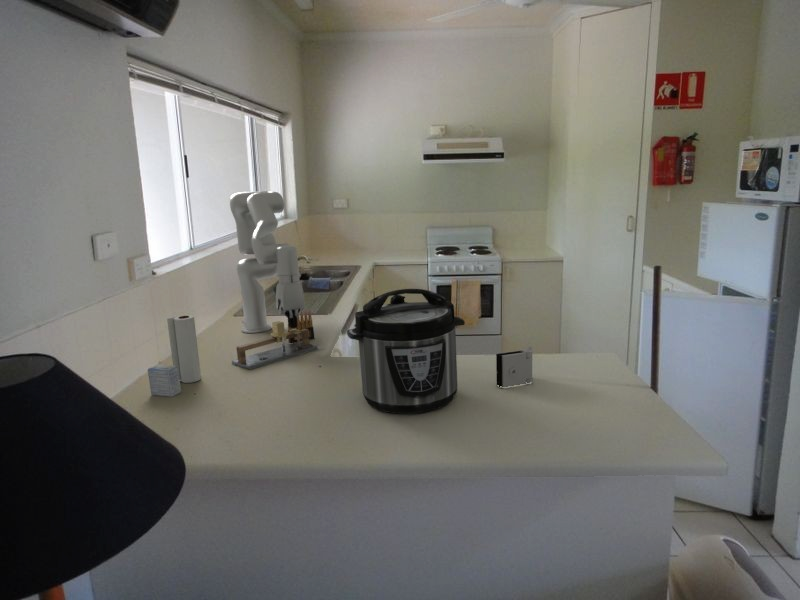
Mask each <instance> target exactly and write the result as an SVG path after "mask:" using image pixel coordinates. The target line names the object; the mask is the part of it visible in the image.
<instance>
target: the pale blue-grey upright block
mask: <svg viewBox="0 0 800 600" xmlns="http://www.w3.org/2000/svg"><path fill="white" fill-rule="evenodd" d="M147 374H148V381H149V389H150V395H151V396H159V397H167V398H168V397H170V398H171V397H175V396H176V395H179V394H180V393H181V392H182V388H181V380H179V373H178V366H173V364H171V365H169V364H155V365H153V366H151V367H149V368H147Z"/></svg>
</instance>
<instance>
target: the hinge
mask: <svg viewBox="0 0 800 600" xmlns="http://www.w3.org/2000/svg"><path fill="white" fill-rule="evenodd" d="M495 356H496V357H495V359H496V360H495V361H496V362H495V363H496V364H495V367H496V370H495V371H496V386H497V385H499V387H500V386H502V387H508V386H514V385H520V384H526V382H527V383H530V382H532V383H533V350H532V346H531V345H528V346H527V347H525V348H524V349H518V350H511V351H503V352H497V353H496V355H495ZM526 385H527V384H526ZM499 387H498V388H499Z"/></svg>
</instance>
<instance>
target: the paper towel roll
mask: <svg viewBox="0 0 800 600" xmlns="http://www.w3.org/2000/svg"><path fill="white" fill-rule="evenodd" d="M166 321H167V322H166V323H167V329H168V337H169V343H170V344H169V345H170V350H171V351H170V352H171V361H172V366H178V373H179V380H180V381H181V382H182V383H185V384H190V383H191V384H192V383H195V382H198V381H200V380H202V374H201V372H202V371H201V367H200V365H201V364H200V357H199V348H198V346H199V345H198V338H197V331H196V323H195V321H196V320H195V316H194V315H189V314H188V315H179V316H174V317H171V318H166Z"/></svg>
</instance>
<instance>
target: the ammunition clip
mask: <svg viewBox="0 0 800 600" xmlns="http://www.w3.org/2000/svg"><path fill="white" fill-rule="evenodd" d="M287 328H288V329H287V333H290V330H292V329H298V330H301V329H308V334H309V341H311V340H315V339H316V338H315V331H314V325H313V318H312V312H311V309H309V310H308V311H307V310H305V311H304V312H303V310H301V311H300V313H298V316H297V327H296V328H290V327H289V325H288V324H287ZM287 341H288V344H293V343H296V342H297V337H293V338H290V339H287ZM300 342H302V339H301V336H300Z"/></svg>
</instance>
